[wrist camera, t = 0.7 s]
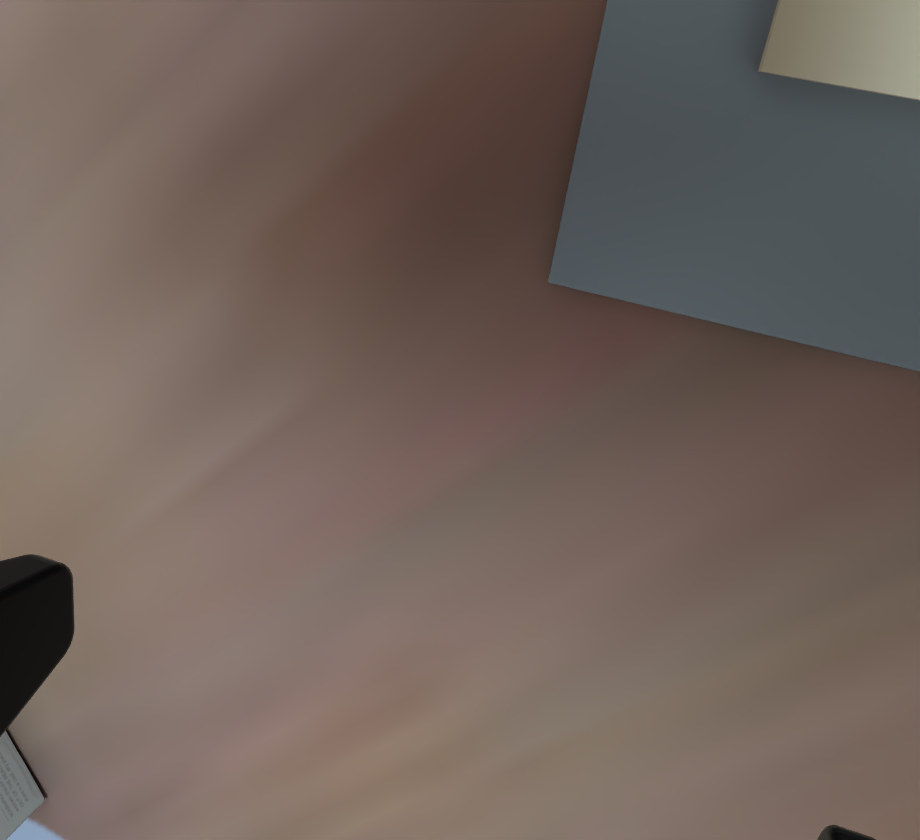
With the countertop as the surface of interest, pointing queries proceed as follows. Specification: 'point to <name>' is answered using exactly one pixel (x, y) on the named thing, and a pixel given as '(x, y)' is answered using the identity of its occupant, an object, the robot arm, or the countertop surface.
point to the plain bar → (847, 44)
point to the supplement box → (15, 789)
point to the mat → (743, 186)
